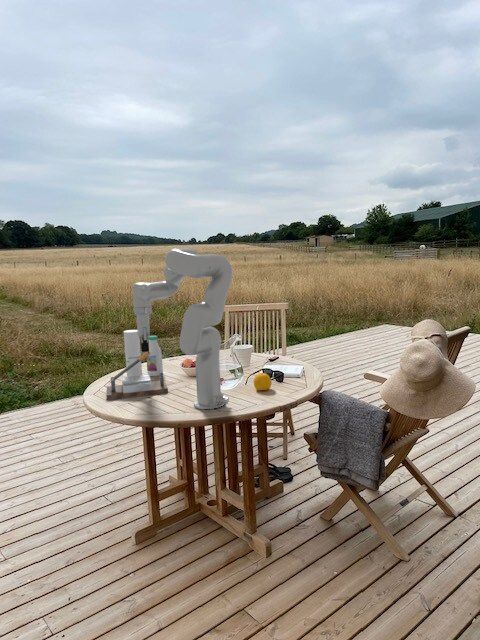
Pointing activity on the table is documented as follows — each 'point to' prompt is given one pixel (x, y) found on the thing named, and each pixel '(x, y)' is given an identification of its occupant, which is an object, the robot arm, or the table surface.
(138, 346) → the cylindrical container
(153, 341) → the milk bottle
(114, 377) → the lever
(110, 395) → the mounting board
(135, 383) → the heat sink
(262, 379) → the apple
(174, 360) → the table surface
